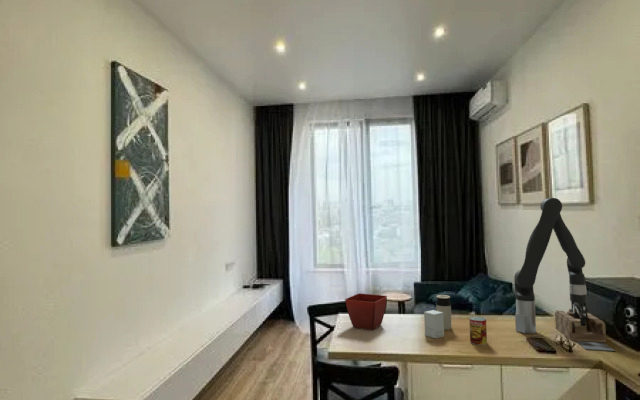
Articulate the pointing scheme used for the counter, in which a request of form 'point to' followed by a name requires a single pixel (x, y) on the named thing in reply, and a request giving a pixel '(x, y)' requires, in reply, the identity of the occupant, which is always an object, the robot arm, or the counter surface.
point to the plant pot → (366, 310)
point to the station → (592, 333)
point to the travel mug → (444, 309)
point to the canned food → (478, 330)
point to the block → (578, 326)
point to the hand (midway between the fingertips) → (580, 323)
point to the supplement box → (434, 324)
